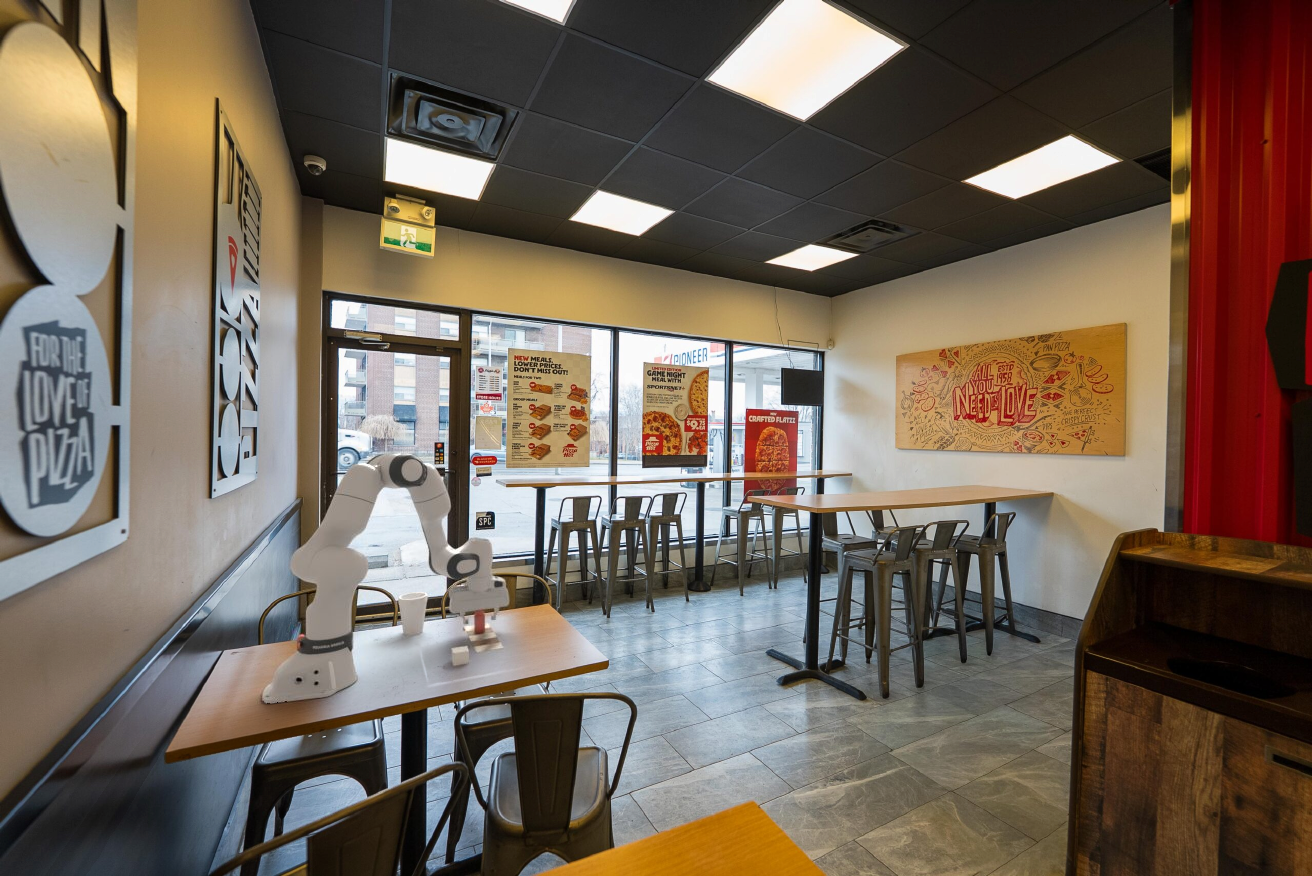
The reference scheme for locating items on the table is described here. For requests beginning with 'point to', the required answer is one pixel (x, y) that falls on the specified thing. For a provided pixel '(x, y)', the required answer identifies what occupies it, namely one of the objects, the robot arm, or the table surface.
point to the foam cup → (412, 612)
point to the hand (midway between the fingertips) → (479, 621)
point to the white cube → (460, 655)
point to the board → (485, 639)
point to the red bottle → (479, 621)
